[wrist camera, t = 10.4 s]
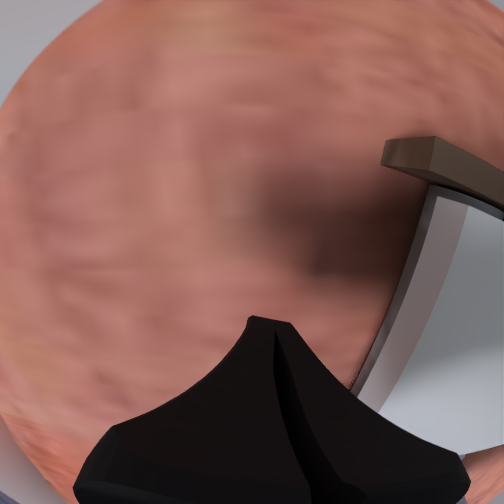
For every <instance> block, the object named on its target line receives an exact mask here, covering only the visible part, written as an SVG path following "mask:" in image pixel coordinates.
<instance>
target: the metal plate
mask: <svg viewBox="0 0 504 504" xmlns="http://www.w3.org/2000/svg"><path fill="white" fill-rule="evenodd" d="M357 398H358V399H359V400H361V401H362V402H363V403H365V404H366V405H367V406H368V407H370V408H371V409H373V410H374V411H375V412H377V413H378V414H380V415H381V416H383V417H384V418H386V419H387V420H389V421H390V422H392V423H394V424H395V425H397V426H399V427H400V428H402V429H404V430H406V431H408V432H409V433H411V434H413V435H415V436H417V437H419V438H421V439H423V440H425V441H428V442H430V443H433V444H435V445H438V446H440V447H443V448H445V449H448V450H450V451H453V452H456V453H457V454H458V455H463V454H468V453H472V452H476V451H480V450H484V449H488V448H492V447H496V446H499V445H503V444H504V221H501V220H499V219H497V218H495V217H493V216H491V215H489V214H487V213H484V212H482V211H480V210H478V209H475V208H473V207H471V206H469V205H465V204H462V203H459V202H456V201H452V200H449V199H445V198H442V197H439V196H437V200H436V204H435V208H434V211H433V215H432V219H431V222H430V225H429V229H428V232H427V235H426V239H425V242H424V245H423V248H422V251H421V254H420V257H419V260H418V263H417V266H416V268H415V271H414V274H413V277H412V280H411V282H410V285H409V287H408V290H407V293H406V295H405V298H404V300H403V303H402V305H401V308H400V310H399V312H398V315H397V317H396V320H395V322H394V324H393V326H392V329H391V331H390V333H389V335H388V338H387V340H386V342H385V344H384V346H383V348H382V350H381V353H380V355H379V357H378V359H377V361H376V363H375V365H374V367H373V369H372V371H371V373H370V375H369V377H368V379H367V380H366V382H365V384H364V386H363V388H362V390H361V392H360V393H359V395H358V397H357Z"/></svg>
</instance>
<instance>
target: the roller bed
mask: <svg viewBox="0 0 504 504" xmlns="http://www.w3.org/2000/svg"><path fill="white" fill-rule="evenodd" d="M381 165H383V166H386V167H389V168H392V169H394V170H397V171H400V172H403V173H406V174H408V175H411V176H414V177H416V178H419V179H422V180H424V181H427V182H429V183H432V184H435V185H437V186H435V185H429V187H428V191H427V195H426V198H425V202H424V206H423V210H422V213H421V217H420V220H419V224H418V227H417V230H416V234H415V237H414V240H413V243H412V246H411V249H410V252H409V255H408V258H407V261H406V264H405V267H404V270H403V273H402V276H401V278H400V281H399V284H398V286H397V289H396V292H395V294H394V297H393V299H392V302H391V304H390V307H389V309H388V312H387V314H386V317H385V319H384V321H383V324H382V326H381V329H380V331H379V333H378V335H377V338H376V340H375V342H374V344H373V346H372V349H371V351H370V353H369V355H368V357H367V359H366V361H365V363H364V365H363V368H362V370H361V372H360V374H359V376H358V378H357V380H356V381H355V383H354V385H353V387H352V389H351V391H350V392H351V393H353V394H354V395H355V396H356V397H358V395H359V393H360V392H361V390H362V388H363V386H364V384H365V382H366V380H367V379H368V377H369V375H370V373H371V371H372V369H373V367H374V365H375V363H376V361H377V359H378V357H379V355H380V353H381V350H382V348H383V346H384V344H385V342H386V340H387V338H388V335H389V333H390V331H391V329H392V326H393V324H394V322H395V320H396V317H397V315H398V312H399V310H400V308H401V305H402V303H403V300H404V298H405V295H406V293H407V290H408V287H409V285H410V282H411V280H412V277H413V274H414V271H415V268H416V266H417V263H418V260H419V257H420V254H421V251H422V248H423V245H424V242H425V239H426V235H427V232H428V229H429V225H430V222H431V219H432V215H433V211H434V208H435V204H436V200H437V196H439V197H442V198H445V199H449V200H452V201H456V202H459V203H462V204H465V205H469V206H471V207H473V208H475V209H478V210H480V211H482V212H484V213H487V214H489V215H491V216H493V217H495V218H497V219H499V220H501V221H503V217H504V172H503V171H501V170H499V169H498V168H496V167H494V166H492V165H491V164H489V163H487V162H485V161H484V160H482V159H480V158H478V157H476V156H474V155H473V154H471V153H469V152H467V151H465V150H463V149H461V148H459V147H457V146H455V145H453V144H451V143H449V142H447V141H445V140H442V139H440V138H438V137H436V136H434V137H420V138H408V139H397V140H387V141H386V143H385V147H384V152H383V156H382V161H381ZM439 186H440V187H439Z"/></svg>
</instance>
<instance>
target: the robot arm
mask: <svg viewBox="0 0 504 504" xmlns="http://www.w3.org/2000/svg"><path fill="white" fill-rule="evenodd" d="M465 456H466V454H463V455H458V454H457V453H456V452H453V451H450V450H448V449H445V448H443V447H440V446H438V445H435V444H433V443H430V442H428V441H425V440H423V439H421V438H419V437H417V436H415V435H413V434H411V433H409V432H408V431H406V430H404V429H402V428H400V427H399V426H397V425H395V424H394V423H392V422H390V421H389V420H387V419H386V418H384V417H383V416H381V415H380V414H378V413H377V412H375V411H374V410H373V409H371V408H370V407H368V406H367V405H366V404H365V403H363V402H362V401H361V400H359V399H358V398H357V397H356V396H355V395H354V394H353V393H351V392H350V391H349V390H348V389H347V388H346V387H345V386H344V385H342V384H341V383H340V382H339V381H338V380H337V379H336V378H335V377H334V375H333V374H332V373H331V372H330V371H329V370H328V369H327V368H326V367H325V366H324V365H323V363H322V362H321V361H320V360H319V359H318V358H317V356H316V355H315V354H314V353H313V351H312V350H311V349H310V348H309V346H308V345H307V344H306V342H305V341H304V340H303V338H302V337H301V336H300V334H299V333H298V332H297V330H296V329H295V328H294V327H293V325H292V324H291V323H289V322H284V321H278V320H273V319H268V318H263V317H258V316H253V315H252V316H251V317H249V318H248V320H247V324H246V328H245V330H244V331H243V333H242V335H241V336H240V338H239V339H238V341H237V342H236V344H235V345H234V346H233V348H232V349H231V350H230V351H229V353H228V354H227V355H226V356H225V357H224V358H223V359H222V361H221V362H220V363H219V364H218V365H217V366H216V367H215V368H214V369H213V370H212V371H210V372H209V373H208V374H207V375H206V376H205V377H204V378H202V379H201V380H200V381H198V382H197V383H196V384H195V385H193V386H192V387H191V388H189V389H188V390H186V391H185V392H183V393H182V394H180V395H179V396H177V397H175V398H174V399H172V400H170V401H168V402H166V403H165V404H163V405H161V406H159V407H157V408H156V409H154V410H151V411H149V412H147V413H145V414H142V415H140V416H137V417H135V418H132V419H130V420H127V421H125V422H122V423H119V424H117V425H114V426H112V427H111V428H110V429H109V430H108V431H107V432H106V433H105V435H104V436H103V437H102V438H101V439H100V440H99V442H98V443H97V444H96V446H95V447H94V448H93V450H92V451H91V453H90V454H89V456H88V457H87V459H86V460H85V462H84V464H83V466H82V469H81V471H80V473H79V475H78V477H77V479H76V481H75V484H74V486H73V491H74V495H75V497H76V499H77V501H78V502H79V504H467V501H466V499H465V497H464V495H465V494H466V492H467V491H468V489H469V487H470V483H471V480H470V478H469V476H468V474H467V472H466V469H465V467H464V465H463V463H462V460H463V458H464V457H465ZM0 504H19V503H18V502H16V501H15V500H13V499H12V498H10V497H8V496H7V495H6V494H4V493H2V492H1V491H0Z"/></svg>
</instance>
